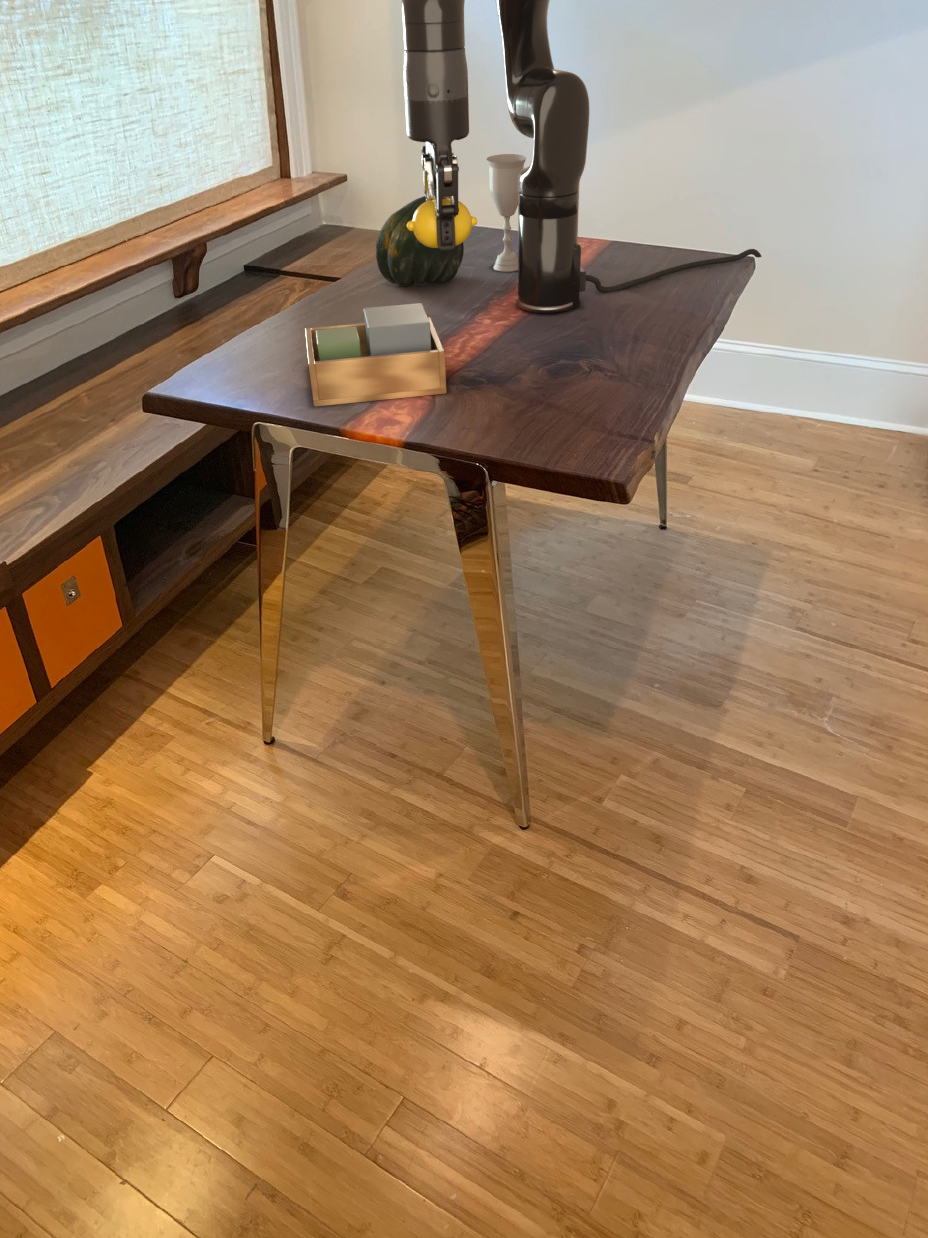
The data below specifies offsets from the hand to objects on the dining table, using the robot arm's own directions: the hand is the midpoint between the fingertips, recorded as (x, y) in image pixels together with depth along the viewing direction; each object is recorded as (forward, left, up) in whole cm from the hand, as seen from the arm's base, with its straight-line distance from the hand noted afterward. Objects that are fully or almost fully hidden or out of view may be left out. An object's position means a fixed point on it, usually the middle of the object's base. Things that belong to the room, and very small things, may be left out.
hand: (442, 241), depth 121 cm
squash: (-2, -43, -18) cm, 46 cm away
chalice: (-18, -47, -18) cm, 53 cm away
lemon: (0, 0, -1) cm, 1 cm away
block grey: (+7, 0, -18) cm, 19 cm away
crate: (+10, 0, -18) cm, 20 cm away
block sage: (+15, 0, -18) cm, 23 cm away
